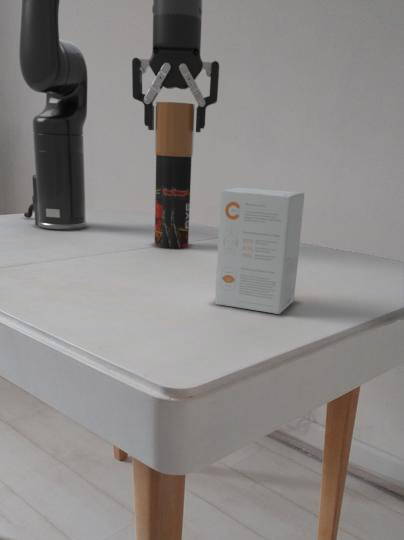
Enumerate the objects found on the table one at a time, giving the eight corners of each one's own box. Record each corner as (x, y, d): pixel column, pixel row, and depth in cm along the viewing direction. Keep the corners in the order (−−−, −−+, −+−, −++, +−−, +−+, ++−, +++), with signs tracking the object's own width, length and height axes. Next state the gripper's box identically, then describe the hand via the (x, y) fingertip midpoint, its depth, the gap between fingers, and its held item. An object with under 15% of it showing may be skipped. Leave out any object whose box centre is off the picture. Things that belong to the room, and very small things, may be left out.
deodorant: (187, 249, 97) (190, 157, 92) (152, 247, 97) (154, 155, 92) (188, 243, 103) (192, 156, 97) (156, 241, 103) (157, 154, 97)
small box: (294, 302, 69) (306, 191, 64) (279, 315, 63) (291, 195, 58) (232, 292, 72) (239, 186, 67) (213, 304, 66) (219, 189, 61)
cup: (147, 154, 93) (148, 101, 90) (169, 154, 98) (171, 104, 95) (178, 156, 90) (180, 102, 87) (199, 156, 95) (201, 104, 92)
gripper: (224, 22, 90) (218, 133, 96) (135, 18, 91) (135, 129, 97) (223, 13, 83) (217, 133, 89) (126, 9, 84) (127, 128, 90)
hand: (174, 131), depth 93 cm, fingers open, 7 cm apart
